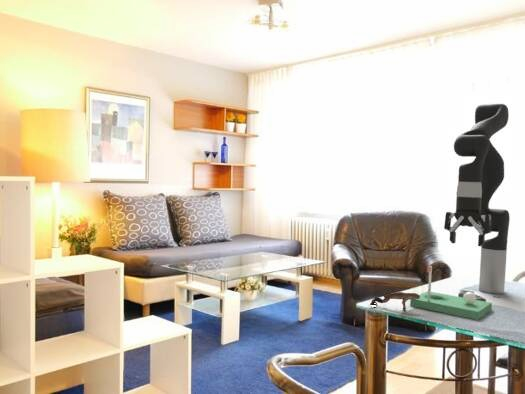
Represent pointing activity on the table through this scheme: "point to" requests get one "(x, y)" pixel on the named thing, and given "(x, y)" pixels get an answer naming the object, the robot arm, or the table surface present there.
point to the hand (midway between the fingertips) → (466, 244)
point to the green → (452, 305)
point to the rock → (475, 295)
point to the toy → (396, 296)
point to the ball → (469, 298)
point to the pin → (429, 269)
